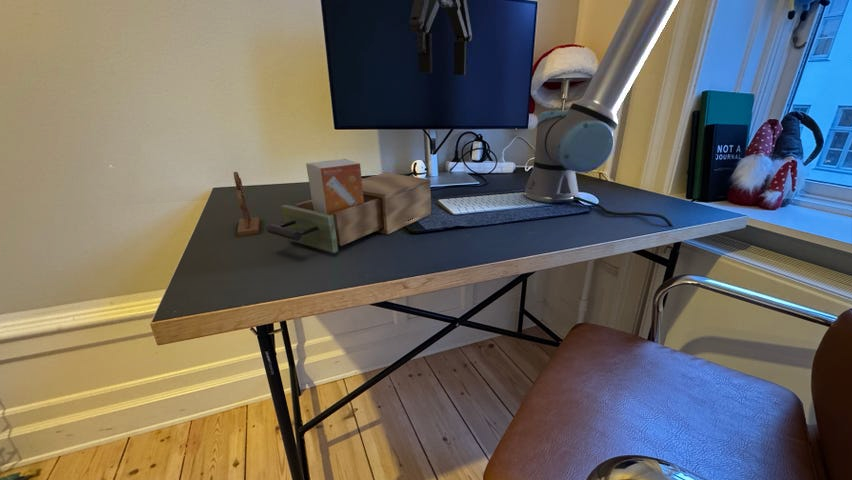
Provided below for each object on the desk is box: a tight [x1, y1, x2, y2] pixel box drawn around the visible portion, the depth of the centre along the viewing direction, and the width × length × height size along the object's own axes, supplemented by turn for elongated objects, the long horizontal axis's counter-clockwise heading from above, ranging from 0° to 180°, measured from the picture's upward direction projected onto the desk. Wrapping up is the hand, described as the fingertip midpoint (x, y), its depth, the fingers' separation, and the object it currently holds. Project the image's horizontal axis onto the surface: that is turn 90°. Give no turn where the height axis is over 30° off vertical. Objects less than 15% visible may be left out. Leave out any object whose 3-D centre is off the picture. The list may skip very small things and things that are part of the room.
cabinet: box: [362, 172, 432, 235], centre depth 85 cm, size 17×14×9 cm
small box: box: [305, 158, 364, 232], centre depth 72 cm, size 8×6×13 cm
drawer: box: [266, 194, 384, 254], centre depth 71 cm, size 21×12×7 cm, turn 151°
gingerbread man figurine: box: [233, 171, 261, 237], centre depth 77 cm, size 9×4×12 cm, turn 26°
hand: (443, 74), depth 78 cm, fingers open, 13 cm apart
